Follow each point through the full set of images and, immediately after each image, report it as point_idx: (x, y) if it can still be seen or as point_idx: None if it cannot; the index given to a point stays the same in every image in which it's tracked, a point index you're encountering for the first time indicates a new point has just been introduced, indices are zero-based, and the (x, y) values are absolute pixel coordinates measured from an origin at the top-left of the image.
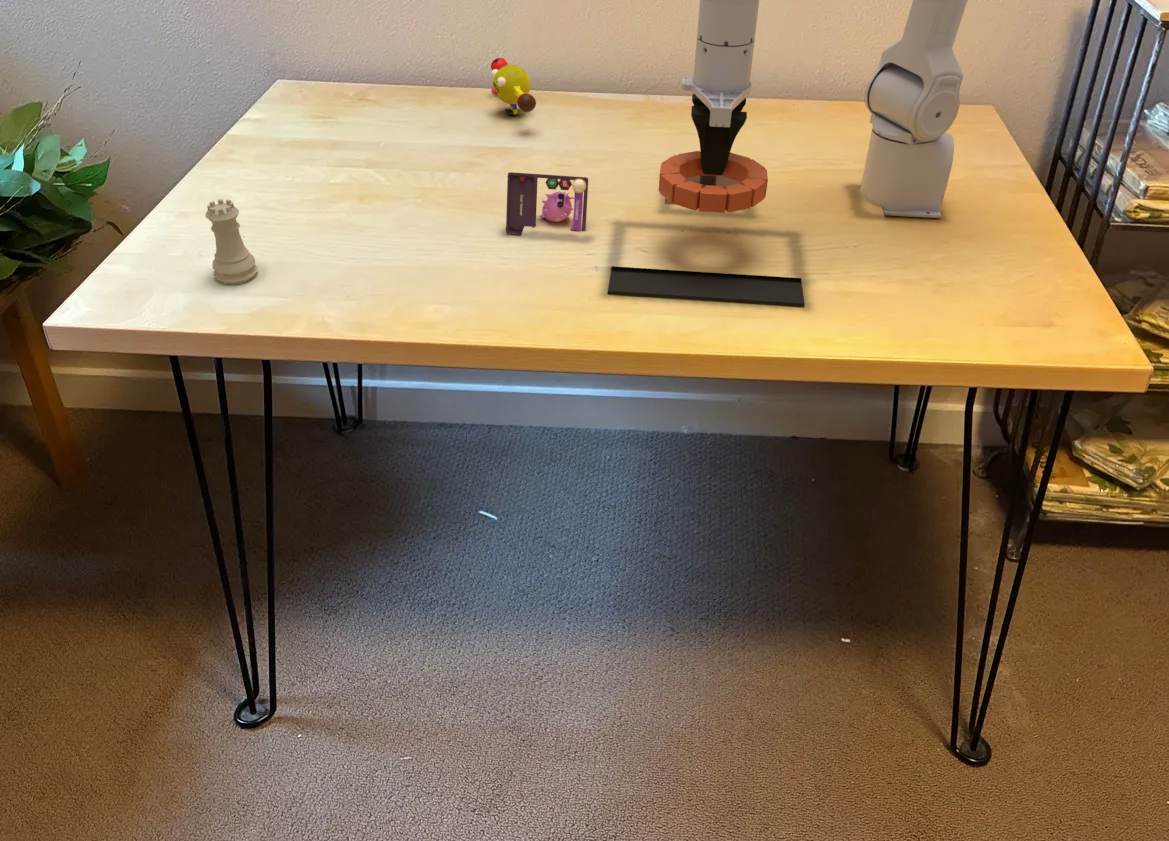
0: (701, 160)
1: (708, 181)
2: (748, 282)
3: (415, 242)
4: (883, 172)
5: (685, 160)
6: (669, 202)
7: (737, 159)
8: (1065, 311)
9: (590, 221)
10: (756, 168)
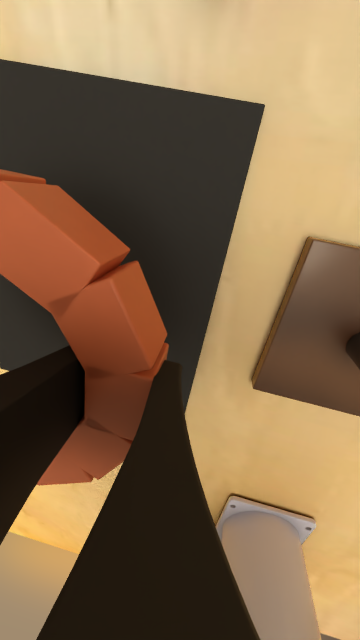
0: (49, 354)
1: (356, 354)
2: (33, 321)
3: None
4: (236, 575)
5: (44, 297)
6: (316, 251)
7: (82, 451)
8: (48, 529)
9: (300, 3)
10: None
